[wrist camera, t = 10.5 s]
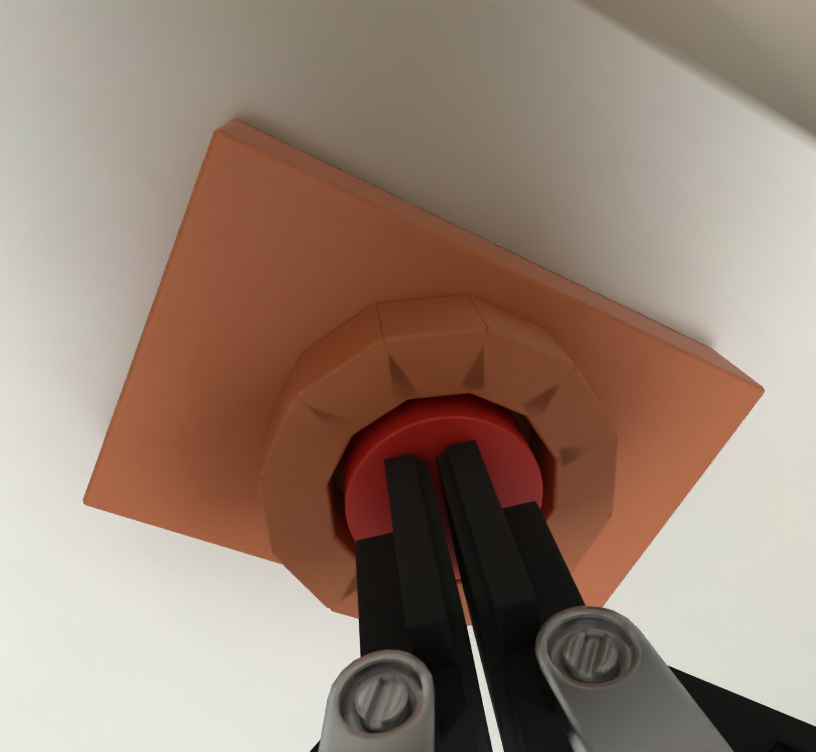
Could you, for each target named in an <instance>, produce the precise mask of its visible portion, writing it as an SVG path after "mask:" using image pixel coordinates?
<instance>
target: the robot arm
mask: <svg viewBox="0 0 816 752" xmlns="http://www.w3.org/2000/svg"><path fill="white" fill-rule="evenodd" d="M446 453H447V454H443V455H439V456H436V461H437V466H438V471H439V476H440V481H441V486H442V491H443V496H444V500H445V505H446V510H447V515H448V520H449V525H450V530H451V535H452V540H453V545H454V550H455V554H456V559H457V564H458V569H459V574H460V578H461V583H462V587H463V591H464V595H465V599H466V603H467V607H468V611H469V615H470V619H471V623H472V627H473V631H474V635H475V639H476V643H477V646H478V650H479V654H480V658H481V662H482V666H483V670H484V674H485V678H486V682H487V686H488V690H489V694H490V698H491V702H492V706H493V710H494V714H495V718H496V722H497V726H498V730H499V734H500V737H501V741H502V745H503V749H504V752H816V727H815V726H813V725H811V724H808V723H806V722H803V721H801V720H798V719H796V718H794V717H791V716H789V715H786V714H784V713H781V712H779V711H777V710H774V709H772V708H769V707H767V706H765V705H762V704H760V703H757V702H755V701H752V700H750V699H748V698H745V697H743V696H740V695H738V694H735V693H733V692H731V691H728V690H726V689H723V688H721V687H718V686H716V685H714V684H711V683H709V682H706V681H704V680H702V679H699V678H697V677H694V676H692V675H689V674H687V673H685V672H682V671H680V670H677V669H675V668H672V667H670V666H668V665H666V663H665V662H664V661H663V659H662V658H661V657H660V656H659V654H658V653H657V652H656V650H655V649H654V648H653V647H652V645H651V644H650V643H649V641H648V640H647V639H646V638H645V636H644V635H643V634H642V632H641V631H640V630H639V629H638V628H637V627H636V626H635V625H634V624H633V623H632V622H631V621H630V620H629V619H628V618H626V617H625V616H623V615H621V614H619V613H617V612H615V611H613V610H610V609H606V608H602V607H598V606H586V605H585V603H584V601H583V599H582V596H581V594H580V592H579V590H578V588H577V586H576V584H575V582H574V580H573V577H572V575H571V573H570V571H569V569H568V567H567V565H566V563H565V561H564V558H563V556H562V554H561V552H560V550H559V548H558V546H557V544H556V542H555V539H554V537H553V535H552V533H551V531H550V529H549V527H548V525H547V523H546V520H545V518H544V516H543V514H542V512H541V510H540V508H539V506H538V504H537V503H536V502H535V501H531V502H527V503H522V504H518V505H513V506H509V507H504V508H502V507H501V505H500V502H499V500H498V497H497V494H496V492H495V489H494V487H493V484H492V481H491V479H490V476H489V474H488V471H487V469H486V466H485V463H484V461H483V458H482V456H481V453H480V451H479V448H478V445H477V443H476V441H475V440H470V441H465V442H460V443H456V444H451V445H447V446H446ZM384 466H385V474H386V481H387V489H388V496H389V504H390V511H391V519H392V526H393V532H392V533H387V534H383V535H378V536H374V537H369V538H365V539H360V540H356V542H355V553H356V573H357V594H358V614H359V634H360V654H361V657H360V658H358V659H356V660H354V661H353V662H352V663H351V664H350V665H348V666H347V667H346V668H345V669H344V670H343V671H342V672H341V673H340V674H339V676H338V677H337V679H336V680H335V681H334V683H333V684H332V687H331V690H330V693H329V696H328V699H327V705H326V710H325V716H324V722H323V728H322V734H321V740H320V741H319V742H318V743H317V744H316V745H315V746H314V747H313V749H312V750H311V751H310V752H493V751H492V746H491V741H490V736H489V731H488V726H487V722H486V717H485V712H484V707H483V702H482V697H481V692H480V688H479V683H478V678H477V673H476V668H475V663H474V659H473V654H472V649H471V644H470V639H469V634H468V630H467V625H466V620H465V616H464V612H463V607H462V603H461V599H460V595H459V590H458V586H457V582H456V578H455V574H454V570H453V566H452V562H451V558H450V553H449V549H448V545H447V541H446V537H445V533H444V529H443V525H442V521H441V516H440V512H439V508H438V504H437V500H436V496H435V492H434V488H433V484H432V480H431V475H430V471H429V467H428V463H427V459H426V458H425V459H421V460H416V461H415V460H414V455H413V453H411V454H406V455H401V456H397V457H392V458H388V459H384Z"/></svg>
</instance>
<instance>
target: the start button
mask: <svg viewBox="0 0 816 752" xmlns="http://www.w3.org/2000/svg"><path fill="white" fill-rule="evenodd" d="M470 440H475V441H476V443H477V445H478V448H479V451H480V453H481V456H482V458H483V461H484V463H485V466H486V469H487V471H488V474H489V476H490V479H491V481H492V484H493V487H494V489H495V492H496V494H497V497H498V500H499V502H500V505H501V507H502V508H504V507H509V506H513V505H518V504H522V503H527V502H531V501H535V502H536V503H537V504H538V506H539V508H541V504H542V497H543V481H542V476H541V472H540V468H539V466H538V463H537V461H536V459H535V457H534V455H533V453H532V451H531V449H530V447H529V445H528V443H527V441H526V439H525V437H524V435H523V433H522V431H521V429H520V428H519V426H518V424H517V422H516V420H515V418H514V416H513V414H512V413H511V411H510V409H508V408H505V407H503V406H500V405H498V404H495V403H493V402H491V401H488V400H486V399H483V398H481V397H478V396H476V395H473V394H471V393H466V394H456V395H447V396H438V397H428V398H419V399H409V400H406V401H405V402H403V403H402V404H400V405H399V406H397V407H396V408H394V409H392V410H391V411H389V412H388V413H386V414H385V415H383V416H382V417H380V418H378V419H377V420H375V421H374V422H372V423H371V424H369V425H368V426H366V427H365V428H363V429H361V430H360V431H358V432H357V433H355V434H354V435H353V436H352V437H351V439H350V441H349V443H348V445H347V447H346V449H345V451H344V488H345V515H346V519H347V524H348V527H349V530H350V532H351V535H352V537H353V538H354V540H355V542H356V540H360V539H365V538H369V537H374V536H378V535H383V534H387V533H392V532H393V526H392V519H391V511H390V504H389V496H388V489H387V481H386V474H385V466H384V459H388V458H392V457H397V456H401V455H406V454H411V453H413V455H414V460H415V461H416V460H421V459H425V458H426V459H427V463H428V467H429V471H430V475H431V480H432V484H433V488H434V492H435V496H436V500H437V504H438V508H439V512H440V516H441V521H442V525H443V529H444V533H445V537H446V541H447V545H448V549H449V553H450V558H451V562H452V566H453V570H454V574H455V578H456V579H461V578H460V574H459V569H458V564H457V559H456V554H455V550H454V545H453V540H452V535H451V530H450V525H449V520H448V515H447V510H446V505H445V500H444V496H443V491H442V486H441V481H440V476H439V471H438V466H437V461H436V456H439V455H443V454H447V453H446V446H447V445H451V444H456V443H460V442H465V441H470Z"/></svg>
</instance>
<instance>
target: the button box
mask: <svg viewBox="0 0 816 752" xmlns="http://www.w3.org/2000/svg"><path fill="white" fill-rule="evenodd" d="M764 391H765V390H764V388H763V387H762V386H761V385H759V384H758V383H757V382H755V381H754V380H753V379H751V378H750V377H749V376H747V375H746V374H745V373H743V372H742V371H741V370H739V369H738V368H737V367H736V366H734V365H733V364H732V363H730V362H729V361H728V360H726V359H725V358H724V357H722V356H721V355H720V354H718V353H717V352H716V351H714V350H713V349H711V348H709V347H706V346H704V345H702V344H700V343H698V342H696V341H694V340H692V339H690V338H688V337H686V336H684V335H682V334H680V333H677V332H675V331H673V330H671V329H669V328H667V327H665V326H663V325H661V324H659V323H657V322H655V321H653V320H651V319H648V318H646V317H644V316H642V315H640V314H638V313H636V312H634V311H632V310H630V309H628V308H626V307H624V306H622V305H619V304H617V303H615V302H613V301H611V300H609V299H607V298H605V297H603V296H601V295H599V294H597V293H595V292H593V291H590V290H588V289H586V288H584V287H582V286H580V285H578V284H576V283H574V282H572V281H570V280H568V279H566V278H564V277H561V276H559V275H557V274H555V273H553V272H551V271H549V270H547V269H545V268H543V267H541V266H539V265H537V264H535V263H532V262H530V261H528V260H526V259H524V258H522V257H520V256H518V255H516V254H514V253H512V252H510V251H508V250H506V249H503V248H501V247H499V246H497V245H495V244H493V243H491V242H489V241H487V240H485V239H483V238H481V237H479V236H477V235H474V234H472V233H470V232H468V231H466V230H464V229H462V228H460V227H458V226H456V225H454V224H452V223H450V222H448V221H445V220H443V219H441V218H439V217H437V216H435V215H433V214H431V213H429V212H427V211H425V210H423V209H421V208H419V207H416V206H414V205H412V204H410V203H408V202H406V201H404V200H402V199H400V198H398V197H396V196H394V195H392V194H390V193H387V192H385V191H383V190H381V189H379V188H377V187H375V186H373V185H371V184H369V183H367V182H365V181H363V180H361V179H358V178H356V177H354V176H352V175H350V174H348V173H346V172H344V171H342V170H340V169H338V168H336V167H334V166H332V165H329V164H327V163H325V162H323V161H321V160H319V159H317V158H315V157H313V156H311V155H309V154H307V153H305V152H303V151H300V150H298V149H296V148H294V147H292V146H290V145H288V144H286V143H284V142H282V141H280V140H278V139H276V138H274V137H271V136H269V135H267V134H265V133H263V132H261V131H259V130H257V129H255V128H253V127H251V126H249V125H247V124H245V123H243V122H240V121H238V120H232V121H230V122H228V123H227V124H225V125H223V126H221V127H220V128H218V129H216V130H215V131H214V133H213V136H212V138H211V141H210V144H209V147H208V150H207V152H206V155H205V158H204V161H203V164H202V166H201V169H200V172H199V175H198V178H197V181H196V183H195V186H194V189H193V192H192V195H191V197H190V200H189V203H188V206H187V209H186V211H185V214H184V217H183V220H182V223H181V225H180V228H179V231H178V234H177V237H176V240H175V242H174V245H173V248H172V251H171V254H170V256H169V259H168V262H167V265H166V268H165V270H164V273H163V276H162V279H161V282H160V285H159V287H158V290H157V293H156V296H155V299H154V301H153V304H152V307H151V310H150V313H149V315H148V318H147V321H146V324H145V327H144V330H143V332H142V335H141V338H140V341H139V344H138V346H137V349H136V352H135V355H134V358H133V360H132V363H131V366H130V369H129V372H128V375H127V377H126V380H125V383H124V386H123V389H122V391H121V394H120V397H119V400H118V403H117V405H116V408H115V411H114V414H113V417H112V420H111V422H110V425H109V428H108V431H107V434H106V436H105V439H104V442H103V445H102V448H101V450H100V453H99V456H98V459H97V462H96V465H95V467H94V470H93V473H92V476H91V479H90V481H89V484H88V487H87V490H86V493H85V495H84V498H83V503H84V504H85V505H87V506H90V507H94V508H97V509H100V510H104V511H107V512H110V513H114V514H117V515H120V516H124V517H127V518H130V519H134V520H137V521H140V522H144V523H147V524H150V525H153V526H157V527H160V528H163V529H167V530H170V531H173V532H177V533H180V534H183V535H187V536H190V537H193V538H197V539H200V540H203V541H207V542H210V543H213V544H217V545H220V546H223V547H227V548H230V549H233V550H236V551H240V552H243V553H246V554H250V555H253V556H256V557H260V558H263V559H266V560H270V561H273V562H276V563H280V564H283V565H284V566H285V567H286V568H287V569H288V570H289V571H290V572H291V573H292V574H293V575H294V576H295V577H296V578H297V579H298V580H299V581H300V582H301V583H302V584H303V585H304V586H305V587H306V588H307V589H308V590H310V591H311V592H312V593H313V594H314V595H315V596H316V597H317V598H318V599H319V600H320V601H321V602H322V603H323V604H324V605H325V606H326V607H327V608H330V609H331V610H332V611H333V612H337V613H340V614H344V615H347V616H351V617H354V618H358V619H359V614H358V594H357V573H356V553H355V540H354V538H353V537H352V535H351V532H350V530H349V527H348V524H347V519H346V515H345V488H344V451H345V449H346V447H347V445H348V443H349V441H350V439H351V437H352V436H353V435H354V434H355V433H357V432H358V431H360V430H361V429H363V428H365V427H366V426H368V425H369V424H371V423H372V422H374V421H375V420H377V419H378V418H380V417H382V416H383V415H385V414H386V413H388V412H389V411H391V410H392V409H394V408H396V407H397V406H399V405H400V404H402V403H403V402H405V401H406V400H409V399H419V398H428V397H438V396H447V395H456V394H466V393H471V394H473V395H476V396H478V397H481V398H483V399H486V400H488V401H491V402H493V403H495V404H498V405H500V406H503V407H505V408H508V409H510V411H511V413H512V414H513V416H514V418H515V420H516V422H517V424H518V426H519V428H520V429H521V431H522V433H523V435H524V437H525V439H526V441H527V443H528V445H529V447H530V449H531V451H532V453H533V455H534V457H535V459H536V461H537V463H538V466H539V468H540V472H541V476H542V481H543V497H542V504H541V508H540V510H541V512H542V514H543V516H544V518H545V520H546V523H547V525H548V527H549V529H550V531H551V533H552V535H553V537H554V539H555V542H556V544H557V546H558V548H559V550H560V552H561V554H562V556H563V558H564V561H565V563H566V565H567V567H568V569H569V571H570V573H571V575H572V577H573V580H574V582H575V584H576V586H577V588H578V590H579V592H580V594H581V596H582V599H583V601H584V603H585V605H586V606H598V607H603V606H604V604H605V603H606V602H607V600H608V599H609V598H610V596H611V595H612V594H613V592H614V591H615V590H616V588H617V587H618V586H619V584H620V583H621V582H622V580H623V579H624V578H625V576H626V575H627V574H628V572H629V571H630V570H631V568H632V567H633V566H634V564H635V563H636V562H637V560H638V559H639V558H640V556H641V555H642V554H643V553H644V551H645V550H646V549H647V547H648V546H649V545H650V543H651V542H652V541H653V539H654V538H655V537H656V535H657V534H658V533H659V531H660V530H661V529H662V527H663V526H664V525H665V523H666V522H667V521H668V519H669V518H670V517H671V515H672V514H673V513H674V511H675V510H676V509H677V507H678V506H679V505H680V503H681V502H682V501H683V500H684V498H685V497H686V496H687V494H688V493H689V492H690V490H691V489H692V488H693V486H694V485H695V484H696V482H697V481H698V480H699V478H700V477H701V476H702V474H703V473H704V472H705V470H706V469H707V468H708V466H709V465H710V464H711V462H712V461H713V460H714V458H715V457H716V456H717V454H718V453H719V452H720V450H721V449H722V448H723V447H724V445H725V444H726V443H727V441H728V440H729V439H730V437H731V436H732V435H733V433H734V432H735V431H736V429H737V428H738V427H739V425H740V424H741V423H742V421H743V420H744V419H745V417H746V416H747V415H748V413H749V412H750V411H751V409H752V408H753V407H754V405H755V404H756V403H757V401H758V400H759V399H760V397H761V396H762V395H763V393H764ZM456 582H457V586H458V590H459V595H460V599H461V603H462V607H463V612H464V616H465V620H466V625H467V626H469V625H472V623H471V619H470V615H469V611H468V607H467V603H466V599H465V595H464V591H463V587H462V583H461V579H456Z"/></svg>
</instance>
